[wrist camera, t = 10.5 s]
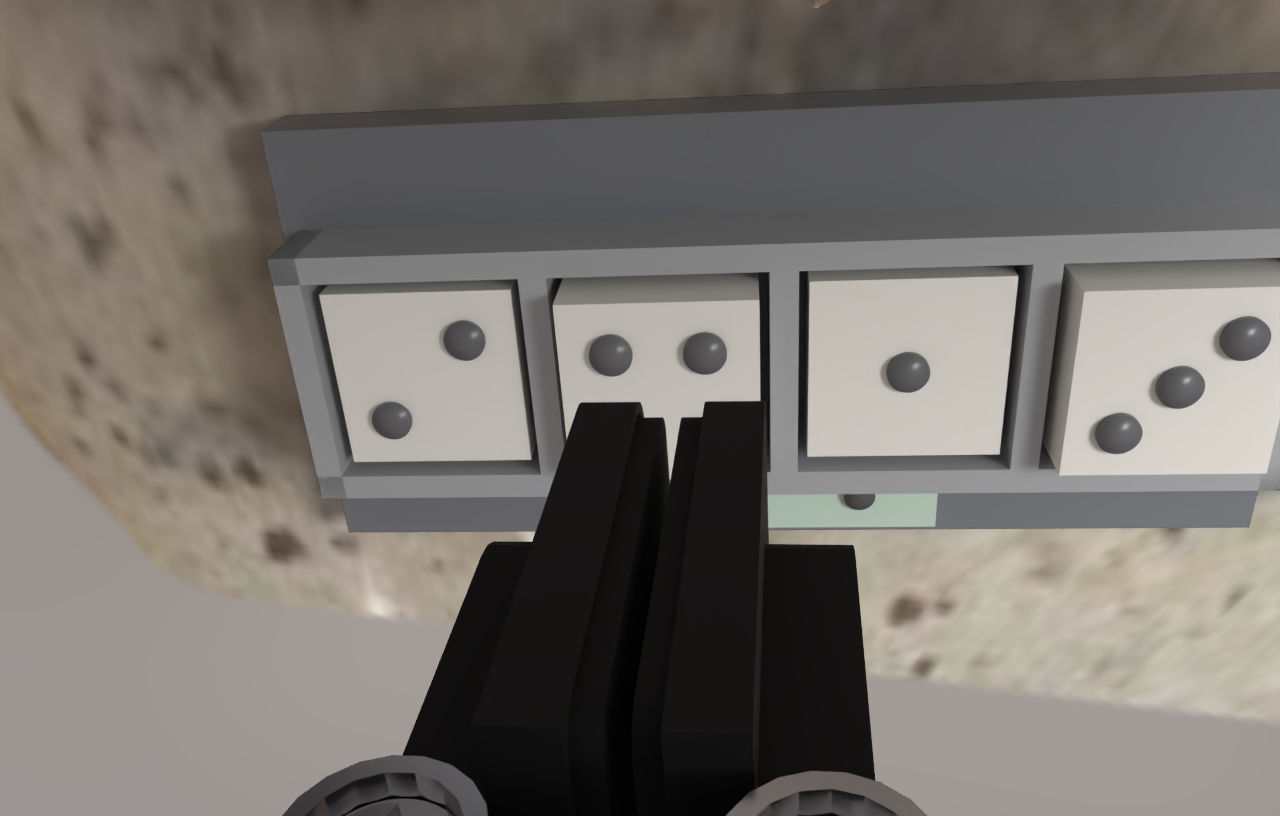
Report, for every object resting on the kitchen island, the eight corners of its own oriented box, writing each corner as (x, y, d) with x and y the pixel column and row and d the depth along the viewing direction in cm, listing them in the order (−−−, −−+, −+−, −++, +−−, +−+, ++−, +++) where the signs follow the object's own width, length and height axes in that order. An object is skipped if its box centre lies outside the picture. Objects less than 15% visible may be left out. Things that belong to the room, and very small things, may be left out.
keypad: (1319, 70, 31) (1405, 107, 27) (1225, 493, 37) (1283, 574, 33) (285, 115, 34) (224, 155, 30) (365, 501, 40) (325, 575, 36)
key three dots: (1276, 256, 30) (1315, 288, 28) (1236, 436, 32) (1269, 477, 30) (1063, 263, 30) (1086, 294, 28) (1041, 438, 33) (1060, 479, 31)
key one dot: (1002, 249, 32) (1020, 278, 30) (985, 420, 34) (1000, 457, 32) (805, 255, 32) (809, 284, 30) (803, 422, 35) (807, 460, 33)
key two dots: (522, 263, 33) (508, 292, 31) (541, 426, 36) (530, 462, 34) (341, 268, 34) (316, 297, 31) (373, 429, 36) (352, 465, 34)
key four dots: (757, 271, 31) (759, 302, 29) (759, 442, 34) (761, 482, 32) (563, 276, 32) (551, 308, 30) (579, 445, 34) (570, 484, 32)
